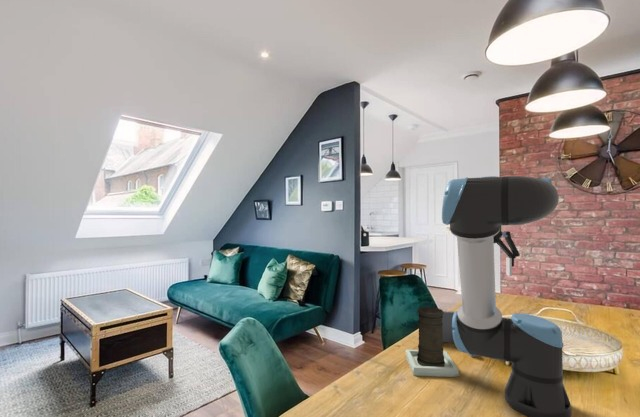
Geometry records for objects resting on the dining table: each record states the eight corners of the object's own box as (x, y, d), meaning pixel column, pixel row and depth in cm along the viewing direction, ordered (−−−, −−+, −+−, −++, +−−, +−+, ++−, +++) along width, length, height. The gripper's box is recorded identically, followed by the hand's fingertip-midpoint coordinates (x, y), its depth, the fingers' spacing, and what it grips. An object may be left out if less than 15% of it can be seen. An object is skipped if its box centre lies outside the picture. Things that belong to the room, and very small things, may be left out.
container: (446, 370, 108) (446, 314, 108) (418, 367, 110) (418, 313, 110) (442, 358, 117) (442, 307, 117) (415, 356, 119) (415, 305, 119)
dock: (475, 357, 120) (475, 324, 120) (431, 356, 121) (431, 322, 121) (461, 341, 135) (460, 311, 135) (422, 340, 136) (422, 310, 136)
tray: (458, 377, 106) (458, 369, 106) (413, 375, 107) (413, 367, 107) (445, 357, 120) (445, 350, 120) (405, 356, 121) (405, 349, 121)
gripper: (519, 218, 127) (519, 273, 127) (452, 217, 129) (452, 272, 129) (530, 218, 120) (530, 277, 120) (458, 218, 122) (458, 276, 122)
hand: (489, 275), depth 125 cm, fingers open, 13 cm apart
